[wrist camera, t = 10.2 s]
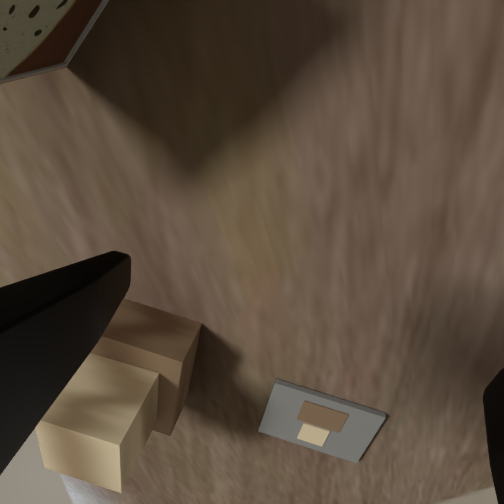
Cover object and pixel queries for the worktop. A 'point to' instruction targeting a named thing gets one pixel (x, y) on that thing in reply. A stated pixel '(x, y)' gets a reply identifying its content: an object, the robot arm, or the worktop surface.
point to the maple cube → (100, 422)
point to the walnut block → (155, 353)
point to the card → (319, 421)
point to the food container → (42, 34)
